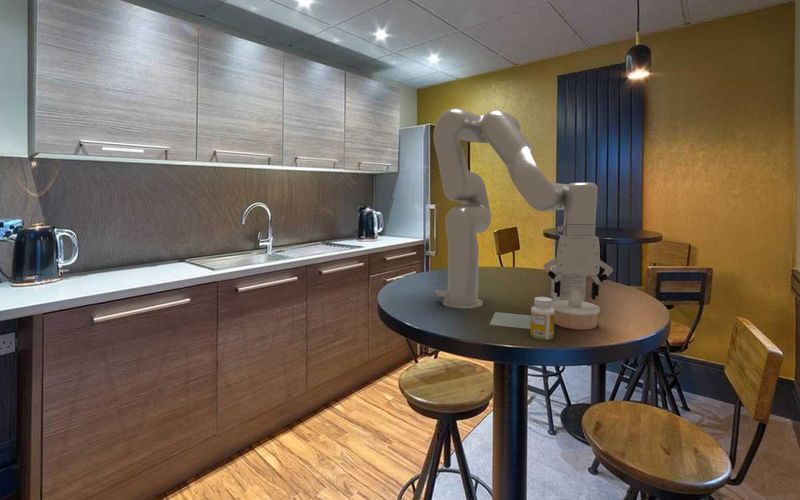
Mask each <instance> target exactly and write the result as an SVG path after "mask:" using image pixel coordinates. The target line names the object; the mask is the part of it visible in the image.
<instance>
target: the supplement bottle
mask: <svg viewBox="0 0 800 500" xmlns="http://www.w3.org/2000/svg"><path fill="white" fill-rule="evenodd" d="M533 299H534V300H533V303H534V305H533V306H532V307H531V308H530V315H531V325H530V329H529V330H530V332H529V334H530V336H531V337H532V338H535V339H538V340H551V339H553V338H554V336H555V323H554V317H555V311H554V309H553V308H552V307H551V305H552V299H551V297H547V296H536V297H534V298H533Z"/></svg>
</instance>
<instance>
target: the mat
mask: <svg viewBox="0 0 800 500" xmlns="http://www.w3.org/2000/svg"><path fill="white" fill-rule="evenodd" d="M489 325H490V326H500V327H507V328H508V327H509V328H515V329H516V328H517V329H527V330H530V325H531V314H529V315H528V314H519V313H508V312H497V311H495V312H494V314H493V316H492V319H491V320H490V322H489Z"/></svg>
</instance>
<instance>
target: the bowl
mask: <svg viewBox="0 0 800 500" xmlns="http://www.w3.org/2000/svg"><path fill="white" fill-rule="evenodd" d="M554 311H555V310H554ZM598 314H599V313H598ZM598 314H596V315H587V316H582V315H571V314H565V313H561V312H557V311H555V317H554V325H557V326H559V327H562V328H567V329H572V330H592V329H595V328H596V327H597V326H598Z"/></svg>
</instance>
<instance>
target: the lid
mask: <svg viewBox="0 0 800 500" xmlns="http://www.w3.org/2000/svg"><path fill="white" fill-rule="evenodd" d="M551 307H552V308H553V309H554V310H555V311H557V312H561V313H565V314H571V315H582V316H587V315H596V314H600V312H601V307H600V306H598V305H596V304H594V303H591V302H587V301H585V302H582V289H581V288H569V300H559V301H554V302H552V305H551Z"/></svg>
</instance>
